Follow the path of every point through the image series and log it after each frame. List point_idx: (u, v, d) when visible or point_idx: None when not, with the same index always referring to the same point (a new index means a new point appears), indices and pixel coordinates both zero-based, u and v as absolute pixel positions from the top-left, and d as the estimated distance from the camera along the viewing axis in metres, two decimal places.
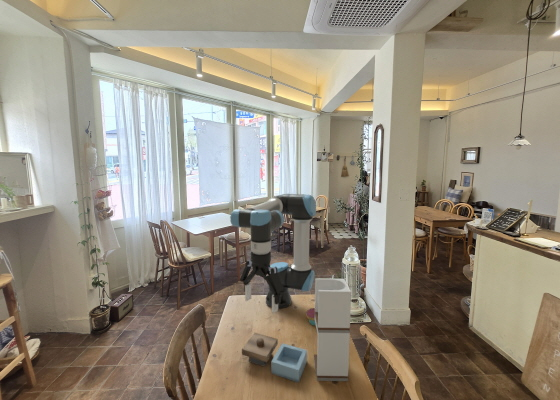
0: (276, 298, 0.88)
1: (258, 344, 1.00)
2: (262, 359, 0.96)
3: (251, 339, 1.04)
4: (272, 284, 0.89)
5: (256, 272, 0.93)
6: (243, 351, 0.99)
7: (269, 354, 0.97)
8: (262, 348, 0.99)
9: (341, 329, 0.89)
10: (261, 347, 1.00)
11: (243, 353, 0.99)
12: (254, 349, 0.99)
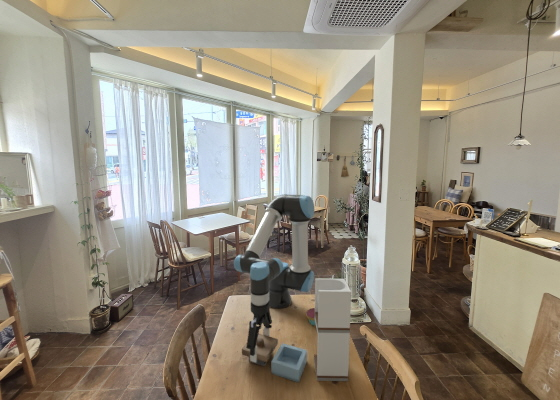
0: None
1: (258, 344, 1.00)
2: (262, 359, 0.96)
3: None
4: None
5: None
6: (243, 351, 0.99)
7: (269, 354, 0.97)
8: (262, 348, 0.99)
9: (341, 329, 0.89)
10: (261, 347, 1.00)
11: (243, 353, 0.99)
12: None
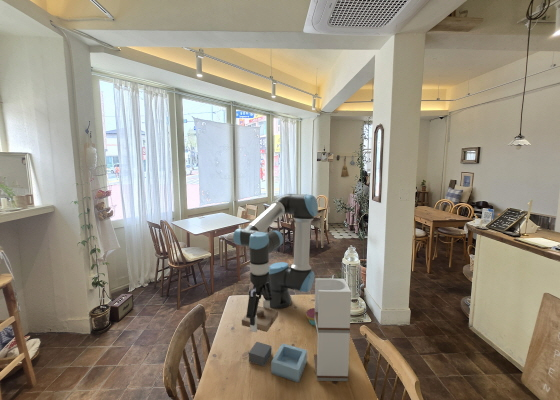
0: None
1: (258, 315, 0.99)
2: (262, 329, 0.94)
3: None
4: None
5: None
6: (243, 322, 0.97)
7: (269, 324, 0.96)
8: (263, 319, 0.98)
9: (341, 329, 0.89)
10: (261, 318, 0.98)
11: (243, 324, 0.98)
12: None
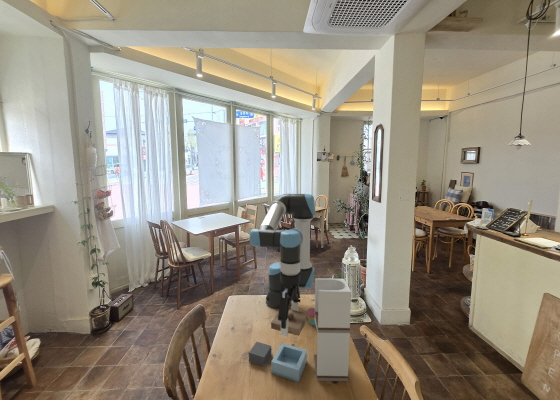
0: None
1: (288, 318, 0.94)
2: (294, 332, 0.89)
3: None
4: None
5: None
6: (272, 325, 0.92)
7: (301, 328, 0.91)
8: (293, 322, 0.92)
9: (341, 329, 0.89)
10: (291, 321, 0.93)
11: (272, 327, 0.92)
12: None
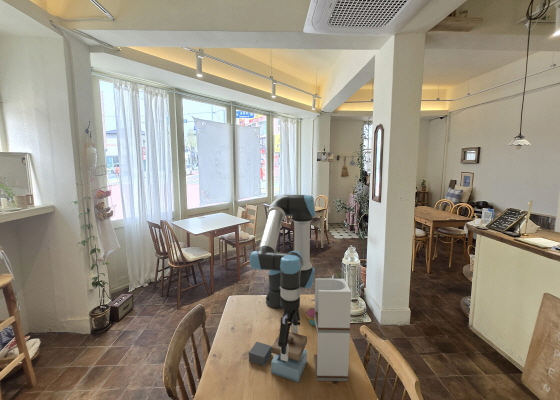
0: None
1: (288, 342, 0.95)
2: (294, 358, 0.90)
3: None
4: None
5: None
6: (273, 349, 0.93)
7: (301, 352, 0.92)
8: (293, 346, 0.93)
9: (341, 329, 0.89)
10: (291, 345, 0.94)
11: (273, 351, 0.93)
12: None
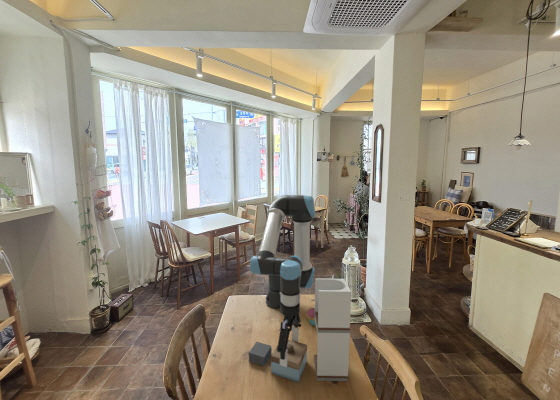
0: (280, 352, 0.89)
1: (288, 350, 0.96)
2: (294, 367, 0.91)
3: None
4: None
5: None
6: (273, 358, 0.94)
7: (301, 361, 0.92)
8: (293, 355, 0.94)
9: (341, 329, 0.89)
10: (291, 354, 0.95)
11: (273, 360, 0.94)
12: None
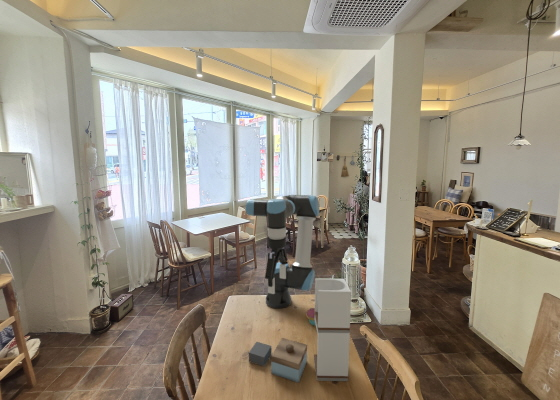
0: None
1: (288, 350, 0.96)
2: (294, 367, 0.91)
3: (279, 345, 1.00)
4: None
5: None
6: (273, 358, 0.94)
7: (301, 361, 0.92)
8: (293, 355, 0.94)
9: (341, 329, 0.89)
10: (291, 354, 0.95)
11: (273, 360, 0.94)
12: (285, 356, 0.94)
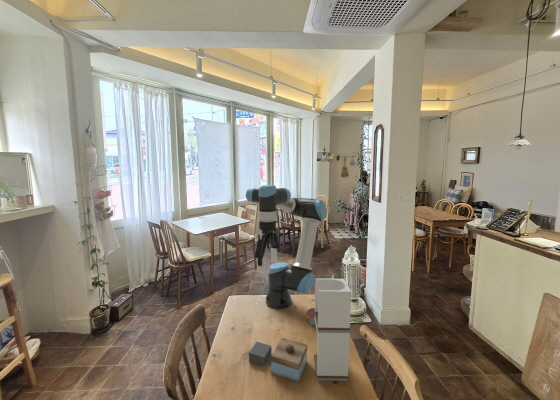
0: None
1: (288, 350, 0.96)
2: (294, 367, 0.91)
3: (279, 345, 1.00)
4: None
5: None
6: (273, 358, 0.94)
7: (301, 361, 0.92)
8: (293, 355, 0.94)
9: (341, 329, 0.89)
10: (291, 354, 0.95)
11: (273, 360, 0.94)
12: (285, 356, 0.94)
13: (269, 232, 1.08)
